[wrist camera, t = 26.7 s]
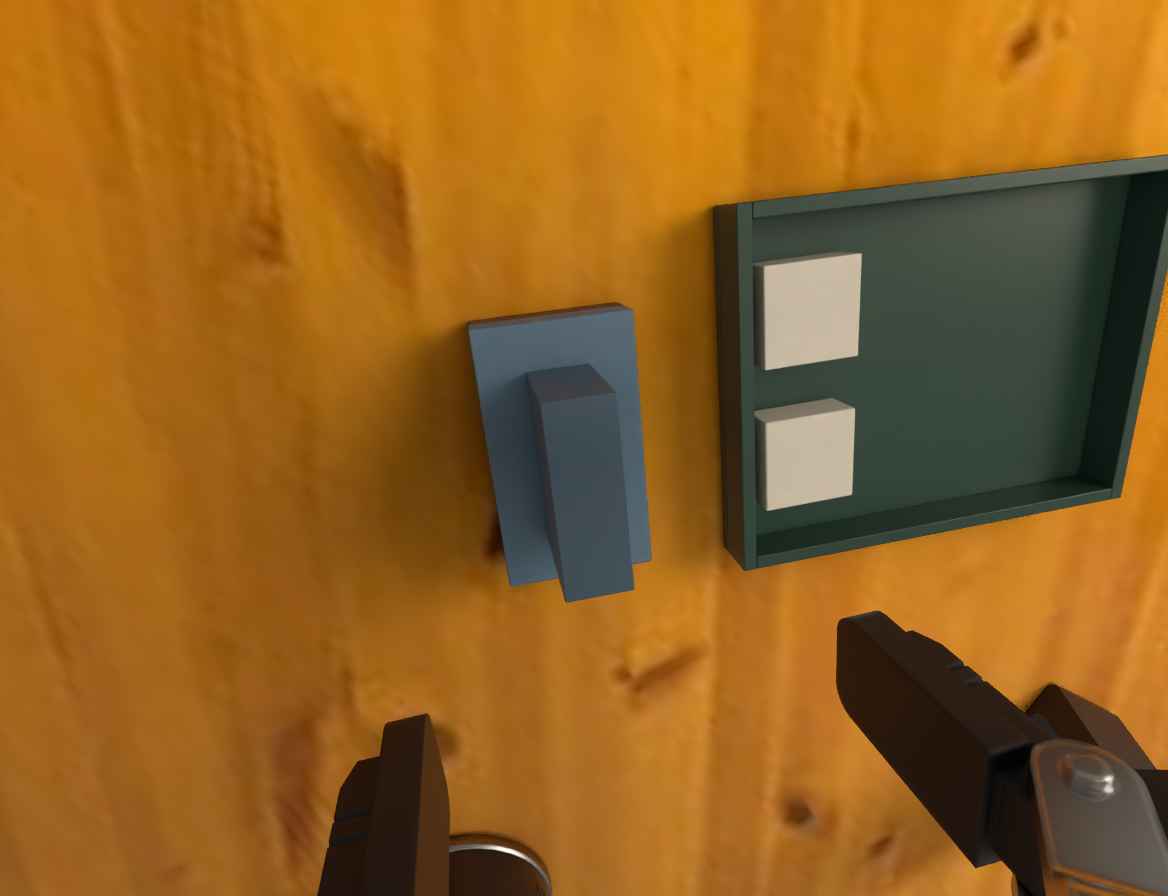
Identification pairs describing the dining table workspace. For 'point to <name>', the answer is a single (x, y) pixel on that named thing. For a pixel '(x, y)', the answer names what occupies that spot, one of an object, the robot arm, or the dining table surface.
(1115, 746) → the dark grey a-frame stand
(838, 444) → the beige square tile
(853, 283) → the cream slab tile
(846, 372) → the tray
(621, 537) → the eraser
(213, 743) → the dining table surface
